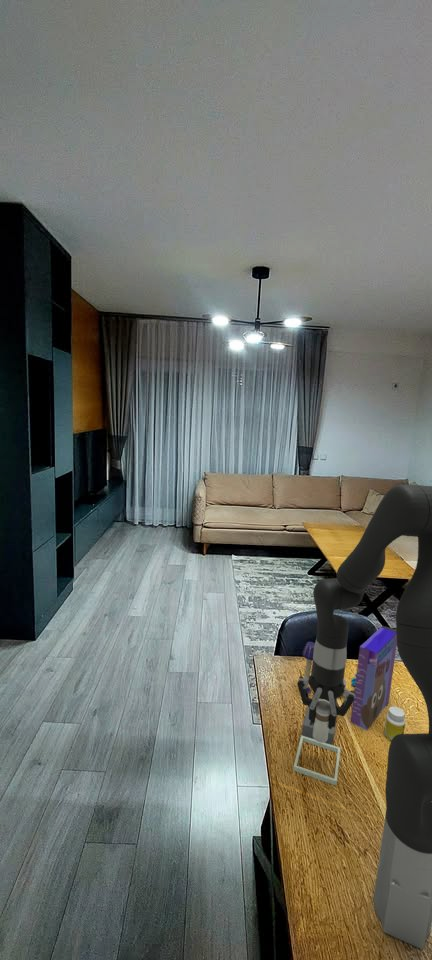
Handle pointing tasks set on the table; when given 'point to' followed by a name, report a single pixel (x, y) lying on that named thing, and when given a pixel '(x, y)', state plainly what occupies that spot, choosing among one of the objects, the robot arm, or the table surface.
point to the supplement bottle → (394, 723)
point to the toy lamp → (308, 660)
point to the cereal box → (374, 676)
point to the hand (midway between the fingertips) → (321, 723)
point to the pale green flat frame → (312, 773)
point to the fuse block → (309, 726)
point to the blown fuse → (321, 721)
